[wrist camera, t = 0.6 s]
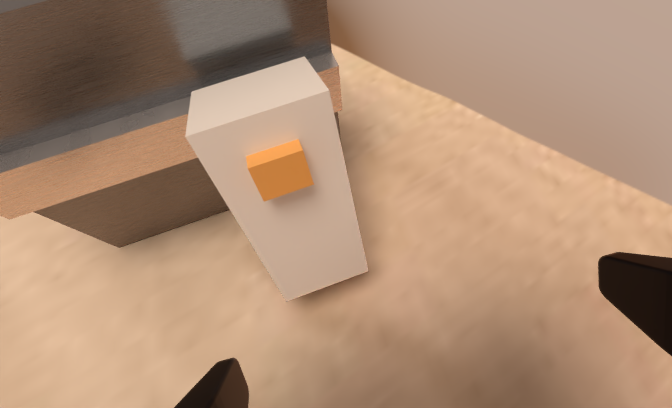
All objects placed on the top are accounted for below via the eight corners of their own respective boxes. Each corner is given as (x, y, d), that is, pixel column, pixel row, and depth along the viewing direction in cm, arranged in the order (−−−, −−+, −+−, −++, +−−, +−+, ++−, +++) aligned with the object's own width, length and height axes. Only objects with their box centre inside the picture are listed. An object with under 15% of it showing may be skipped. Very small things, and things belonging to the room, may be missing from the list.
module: (373, 282, 18) (335, 99, 10) (288, 314, 17) (183, 148, 10) (347, 224, 21) (304, 56, 14) (276, 249, 21) (191, 91, 13)
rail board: (347, 180, 25) (328, -61, 10) (119, 259, 23) (-282, 112, 9) (323, 123, 27) (280, -135, 13) (115, 192, 26) (-201, -10, 11)
